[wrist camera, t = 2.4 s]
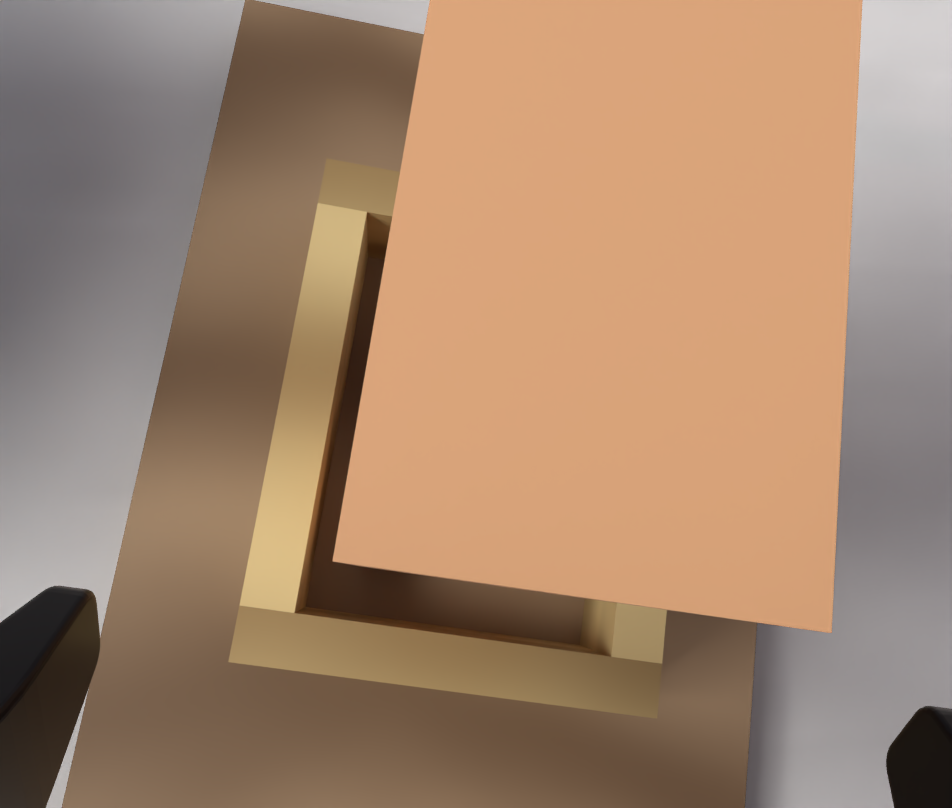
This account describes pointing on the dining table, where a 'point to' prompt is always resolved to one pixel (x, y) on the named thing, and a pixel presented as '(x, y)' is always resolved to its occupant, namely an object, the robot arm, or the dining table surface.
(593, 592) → the c link
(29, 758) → the robot arm
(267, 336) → the brown tray
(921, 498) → the dining table surface
